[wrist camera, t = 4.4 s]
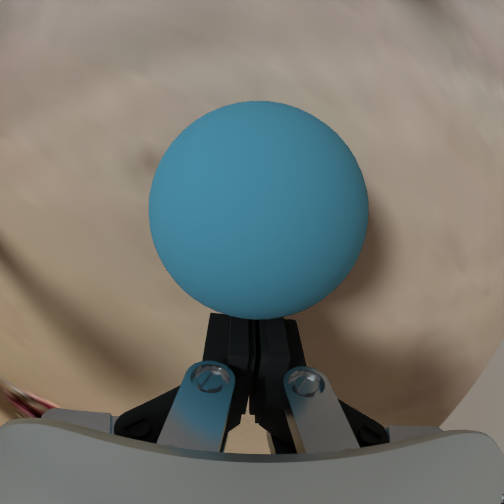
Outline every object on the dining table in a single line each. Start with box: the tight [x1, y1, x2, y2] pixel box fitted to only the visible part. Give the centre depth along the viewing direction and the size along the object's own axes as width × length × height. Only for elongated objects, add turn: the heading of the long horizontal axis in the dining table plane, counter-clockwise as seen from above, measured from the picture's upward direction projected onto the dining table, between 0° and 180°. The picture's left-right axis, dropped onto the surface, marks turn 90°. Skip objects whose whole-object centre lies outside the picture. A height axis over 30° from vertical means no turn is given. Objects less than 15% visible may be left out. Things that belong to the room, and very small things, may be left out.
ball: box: [149, 101, 368, 320], centre depth 8 cm, size 6×6×6 cm
